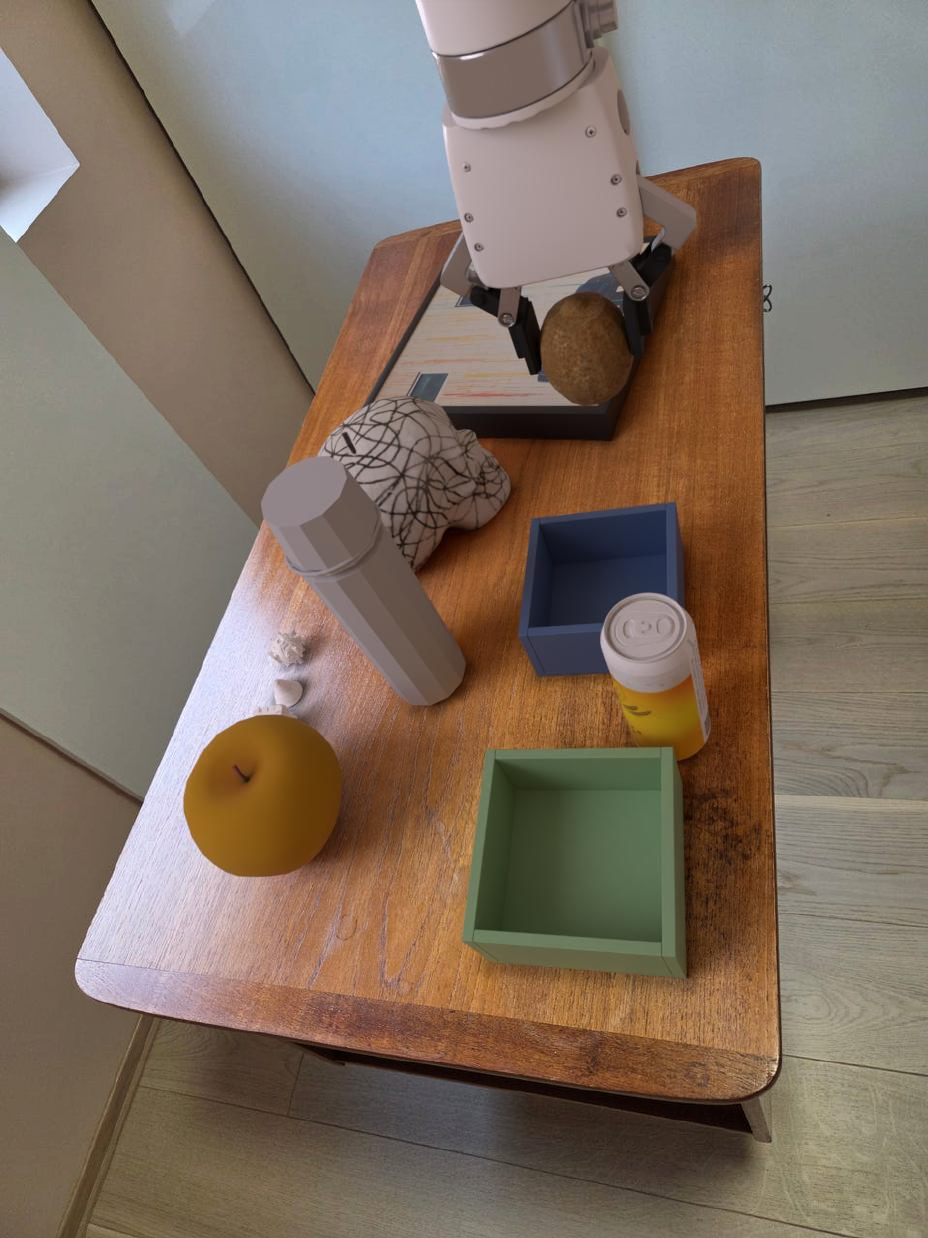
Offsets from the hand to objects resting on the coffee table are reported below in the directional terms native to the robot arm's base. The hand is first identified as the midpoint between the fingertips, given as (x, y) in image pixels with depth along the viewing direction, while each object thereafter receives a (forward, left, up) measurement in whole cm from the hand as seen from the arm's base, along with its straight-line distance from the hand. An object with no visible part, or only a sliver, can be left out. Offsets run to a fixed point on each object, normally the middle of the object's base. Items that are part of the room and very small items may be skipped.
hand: (586, 350), depth 52 cm
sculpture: (+22, -7, -24) cm, 34 cm away
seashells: (+34, +12, -24) cm, 43 cm away
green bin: (+3, +28, -24) cm, 37 cm away
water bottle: (+19, +10, -24) cm, 33 cm away
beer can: (-3, +16, -24) cm, 30 cm away
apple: (+28, +25, -24) cm, 45 cm away
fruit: (0, 0, -4) cm, 4 cm away
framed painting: (+14, -35, -24) cm, 45 cm away
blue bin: (+2, +5, -24) cm, 25 cm away
